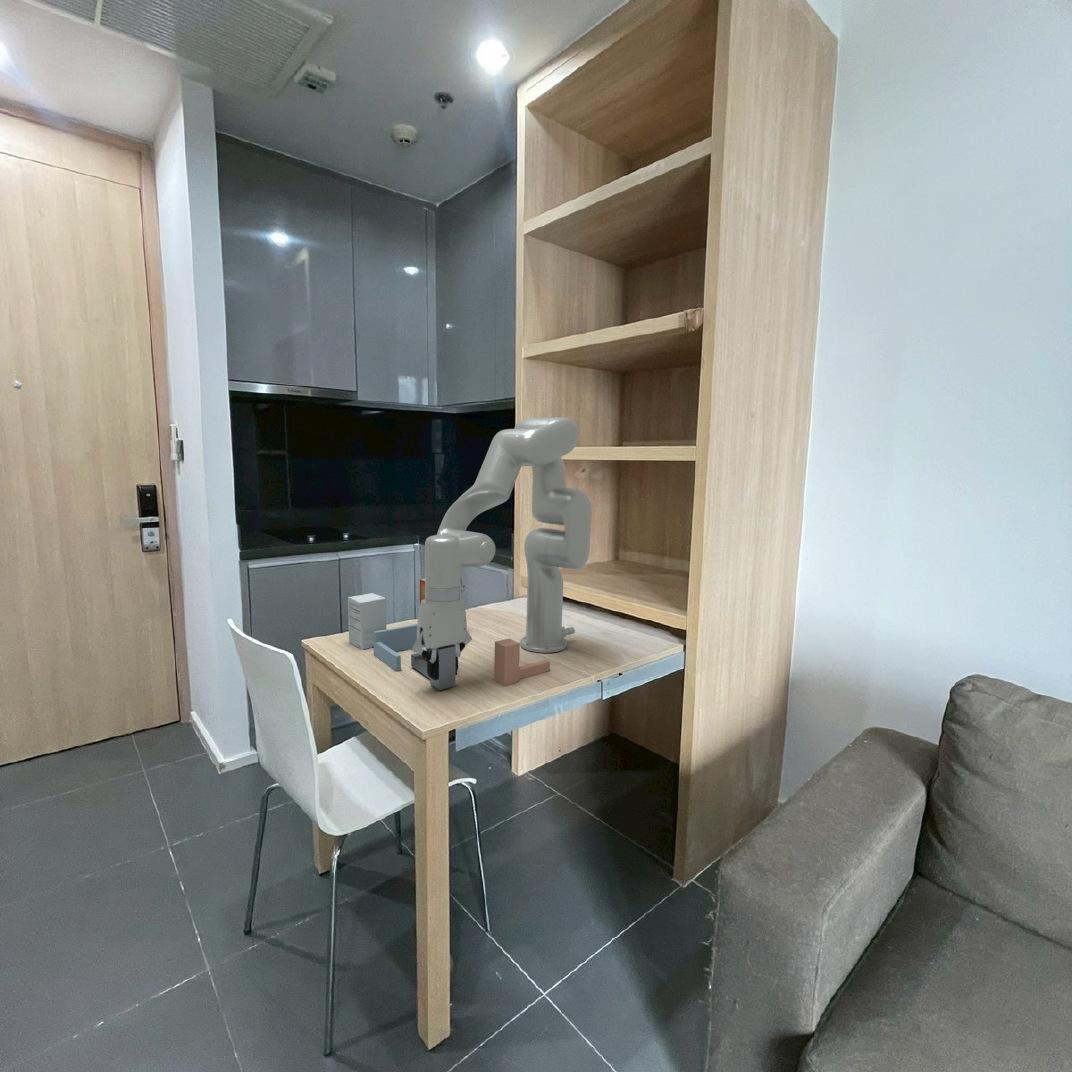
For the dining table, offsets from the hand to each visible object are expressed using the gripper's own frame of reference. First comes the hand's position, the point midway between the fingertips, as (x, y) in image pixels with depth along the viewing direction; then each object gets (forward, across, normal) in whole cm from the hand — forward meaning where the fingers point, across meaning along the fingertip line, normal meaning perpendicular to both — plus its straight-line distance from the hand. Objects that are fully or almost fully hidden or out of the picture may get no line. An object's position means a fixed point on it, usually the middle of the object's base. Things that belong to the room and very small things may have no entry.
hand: (442, 674), depth 121 cm
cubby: (+3, -3, -21) cm, 21 cm away
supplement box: (+3, +3, -36) cm, 36 cm away
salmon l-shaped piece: (+3, -18, +5) cm, 19 cm away
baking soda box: (+3, -17, -33) cm, 37 cm away
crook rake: (+2, -3, -6) cm, 7 cm away
